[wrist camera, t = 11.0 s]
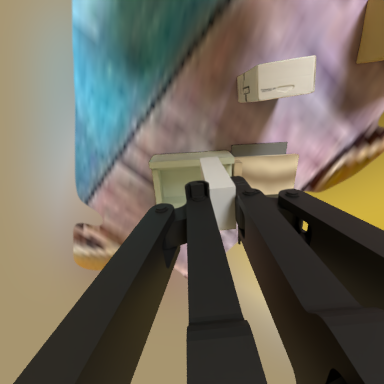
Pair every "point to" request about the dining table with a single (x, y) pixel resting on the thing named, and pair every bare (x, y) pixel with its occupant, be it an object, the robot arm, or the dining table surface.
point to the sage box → (181, 173)
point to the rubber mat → (260, 151)
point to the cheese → (372, 33)
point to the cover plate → (267, 171)
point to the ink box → (277, 80)
